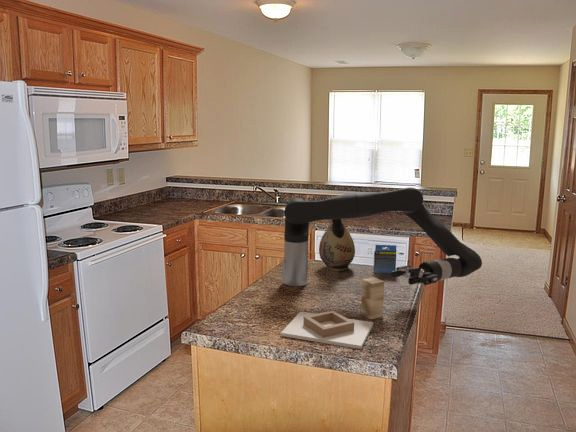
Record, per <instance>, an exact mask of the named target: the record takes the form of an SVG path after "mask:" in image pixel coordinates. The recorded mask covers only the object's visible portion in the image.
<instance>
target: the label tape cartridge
mask: <svg viewBox="0 0 576 432" xmlns="http://www.w3.org/2000/svg"><path fill="white" fill-rule="evenodd" d="M372 270H373V273H374V274H390V275H391V272H392V271H396V270H397V245H395V244H393V245H392V244H391V245H390V244H388V245H387V244H375V249H374V252H373V269H372Z"/></svg>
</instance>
